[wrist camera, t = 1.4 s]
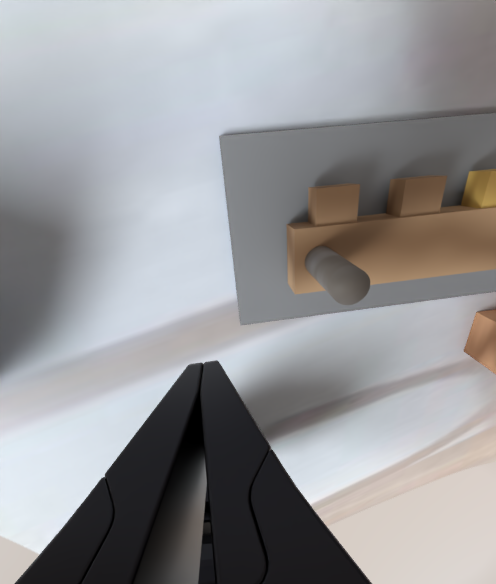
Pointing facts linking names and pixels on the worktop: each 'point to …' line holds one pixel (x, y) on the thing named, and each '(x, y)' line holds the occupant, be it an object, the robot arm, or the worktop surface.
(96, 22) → the worktop surface
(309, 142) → the base plate
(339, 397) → the worktop surface
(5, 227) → the worktop surface
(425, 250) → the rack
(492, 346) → the yellow-striped wooden block
